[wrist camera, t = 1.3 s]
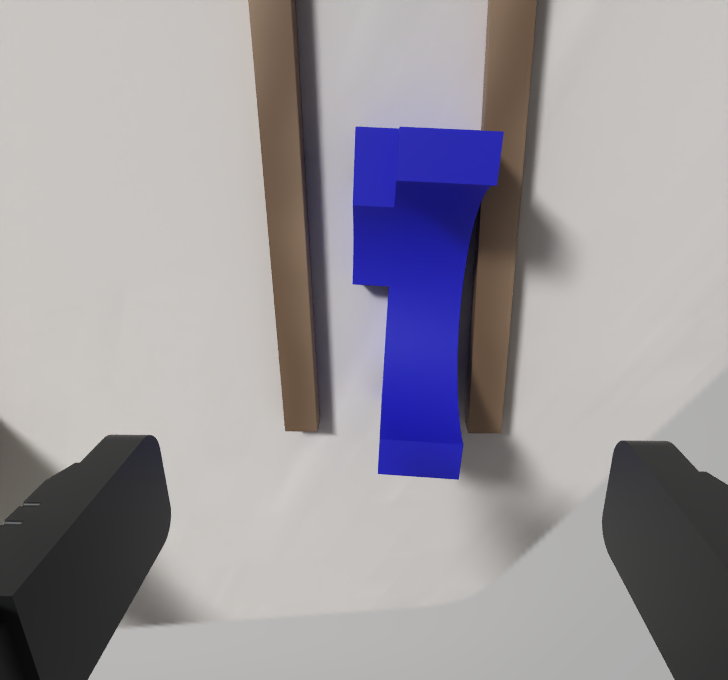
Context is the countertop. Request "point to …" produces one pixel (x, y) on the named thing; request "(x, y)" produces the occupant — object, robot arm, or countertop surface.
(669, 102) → the countertop surface
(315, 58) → the countertop surface
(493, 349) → the guide channel
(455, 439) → the cable clip
